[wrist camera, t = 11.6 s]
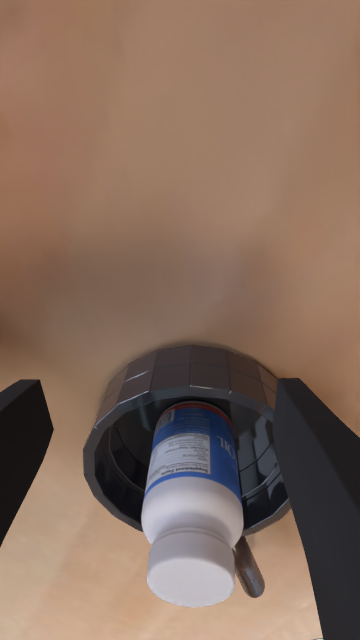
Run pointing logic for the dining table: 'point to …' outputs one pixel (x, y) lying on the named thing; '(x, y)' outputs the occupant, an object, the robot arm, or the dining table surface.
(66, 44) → the dining table surface
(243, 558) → the handle
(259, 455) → the black shallow round container
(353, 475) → the robot arm
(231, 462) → the pill bottle
